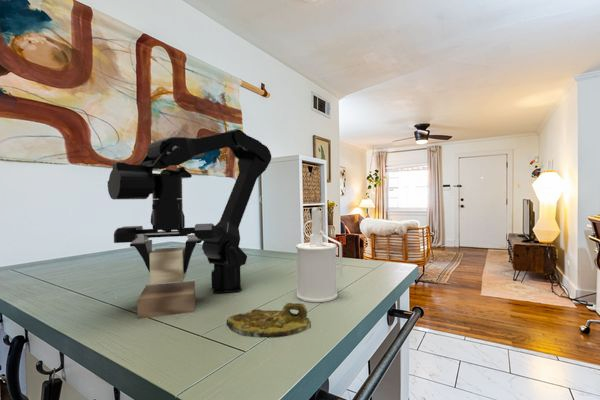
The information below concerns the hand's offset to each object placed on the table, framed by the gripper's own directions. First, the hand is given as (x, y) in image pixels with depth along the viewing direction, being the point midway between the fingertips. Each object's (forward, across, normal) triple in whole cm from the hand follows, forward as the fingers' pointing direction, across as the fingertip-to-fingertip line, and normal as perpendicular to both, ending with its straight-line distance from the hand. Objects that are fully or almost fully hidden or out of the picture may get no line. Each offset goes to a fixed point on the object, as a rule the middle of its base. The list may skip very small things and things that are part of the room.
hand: (169, 274), depth 63 cm
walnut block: (+7, 0, 0) cm, 7 cm away
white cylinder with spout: (+7, -32, +3) cm, 33 cm away
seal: (+7, -18, +15) cm, 25 cm away
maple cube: (+1, 0, 0) cm, 1 cm away
